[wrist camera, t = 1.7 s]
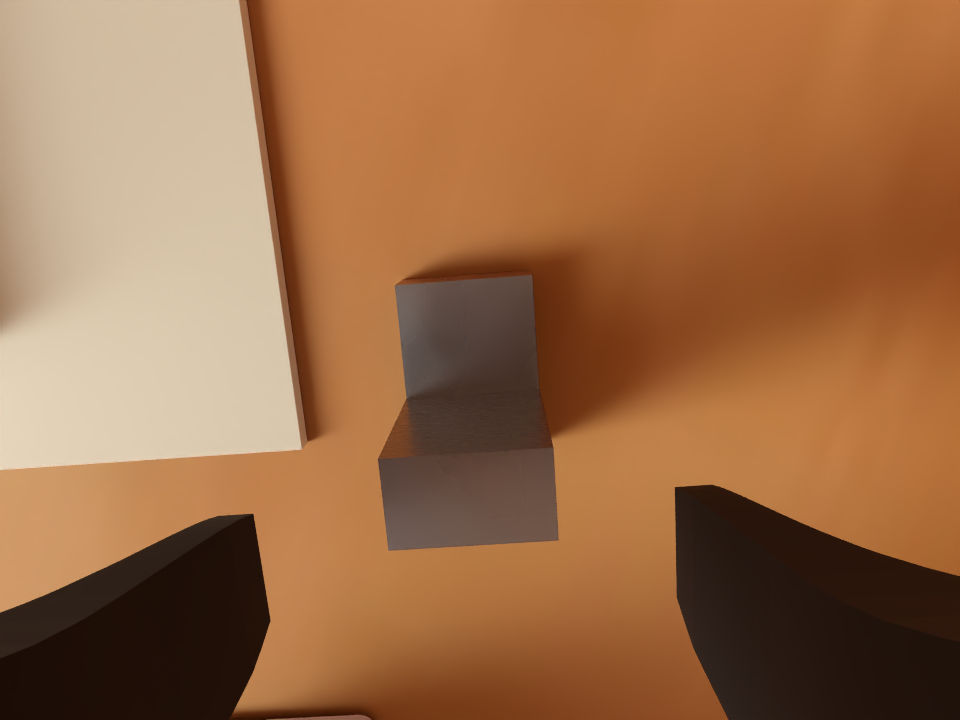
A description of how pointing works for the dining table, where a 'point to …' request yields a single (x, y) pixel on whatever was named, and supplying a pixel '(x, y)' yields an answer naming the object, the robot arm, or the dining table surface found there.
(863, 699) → the robot arm
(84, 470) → the dining table surface
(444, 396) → the bracket
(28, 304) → the well board
